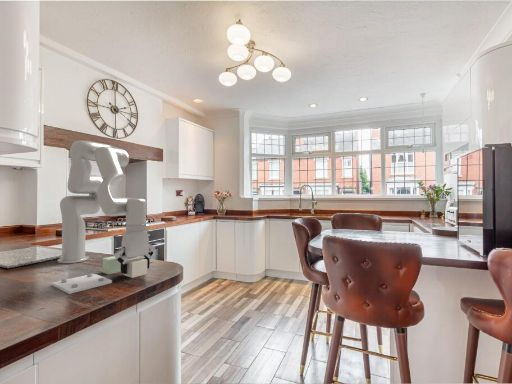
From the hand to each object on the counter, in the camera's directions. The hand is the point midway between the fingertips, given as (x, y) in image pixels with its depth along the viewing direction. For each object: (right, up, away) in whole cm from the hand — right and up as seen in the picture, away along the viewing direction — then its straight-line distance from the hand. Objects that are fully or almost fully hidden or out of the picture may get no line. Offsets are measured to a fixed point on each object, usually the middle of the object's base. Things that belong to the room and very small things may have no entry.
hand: (135, 270), depth 112 cm
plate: (-14, -1, -12) cm, 19 cm away
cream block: (0, -2, 0) cm, 2 cm away
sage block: (-11, -2, +3) cm, 12 cm away
